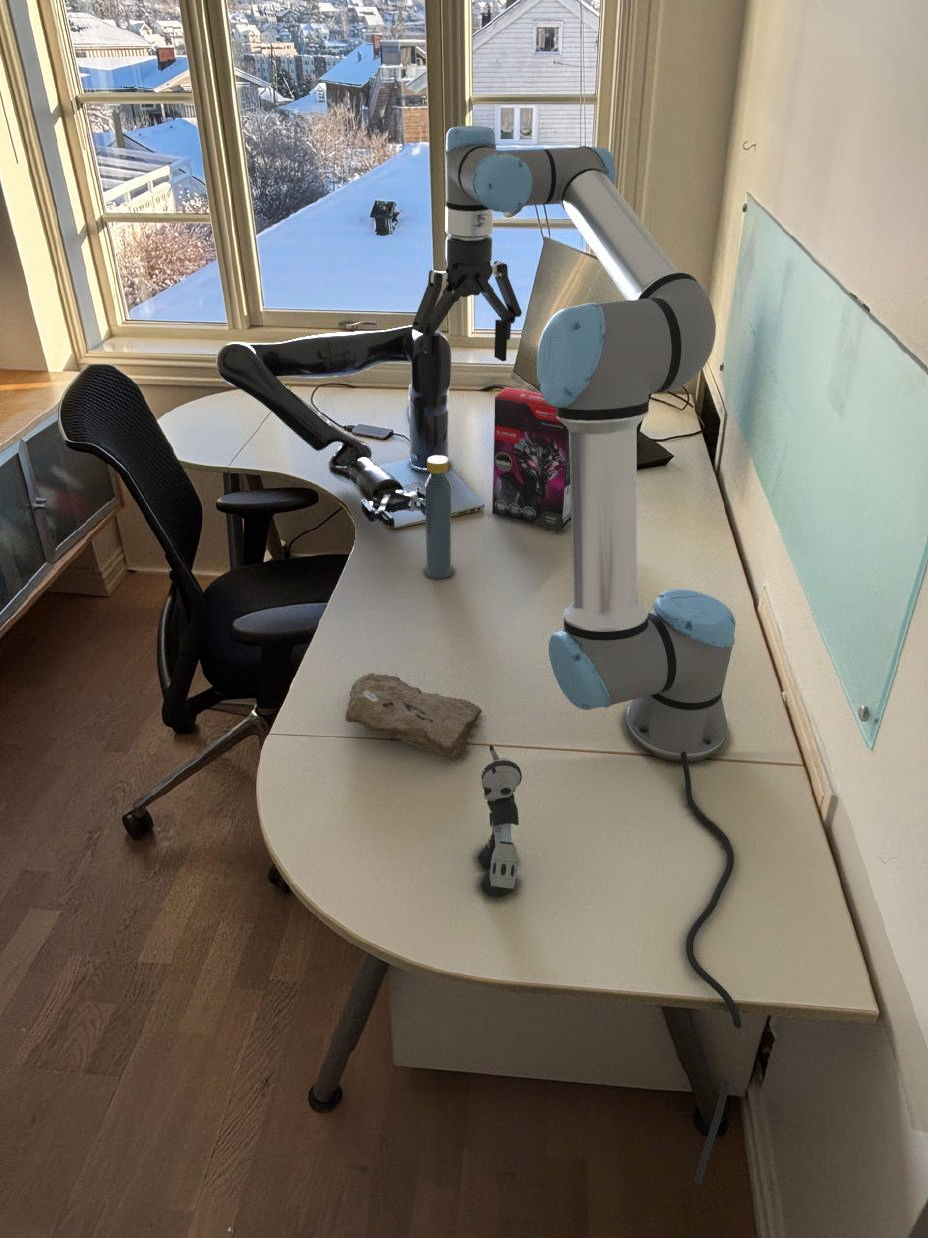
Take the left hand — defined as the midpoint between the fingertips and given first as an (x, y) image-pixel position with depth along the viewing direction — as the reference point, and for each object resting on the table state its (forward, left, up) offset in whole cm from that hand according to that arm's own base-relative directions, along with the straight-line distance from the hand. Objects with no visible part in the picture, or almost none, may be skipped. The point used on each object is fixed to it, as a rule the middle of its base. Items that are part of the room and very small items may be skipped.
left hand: (411, 518), depth 187 cm
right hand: (+10, +10, +35) cm, 37 cm away
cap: (+10, +5, +17) cm, 20 cm away
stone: (+57, -2, -7) cm, 57 cm away
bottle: (+10, +5, -7) cm, 13 cm away
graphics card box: (-12, +26, -7) cm, 29 cm away
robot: (+86, +9, -7) cm, 87 cm away
